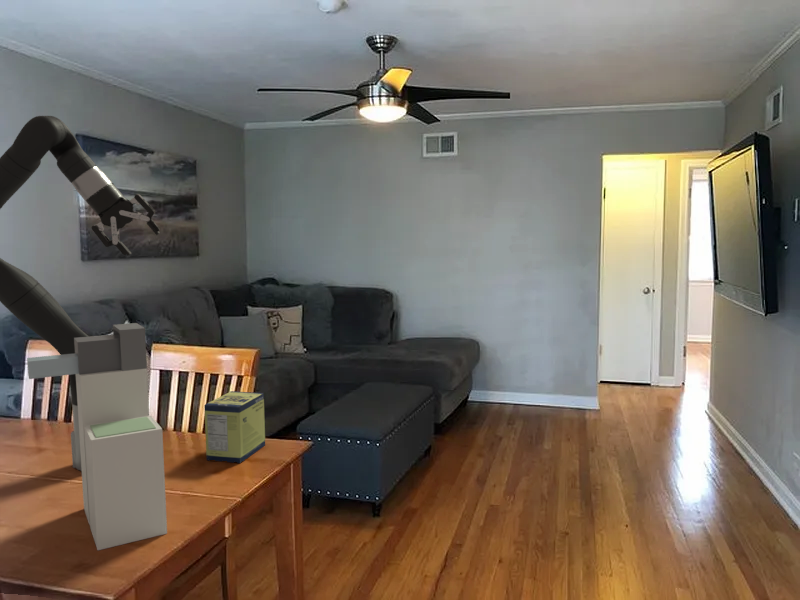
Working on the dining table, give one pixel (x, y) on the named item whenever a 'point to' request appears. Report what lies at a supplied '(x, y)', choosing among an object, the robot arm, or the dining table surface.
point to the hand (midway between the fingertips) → (144, 244)
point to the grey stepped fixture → (121, 449)
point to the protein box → (234, 426)
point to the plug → (80, 358)
